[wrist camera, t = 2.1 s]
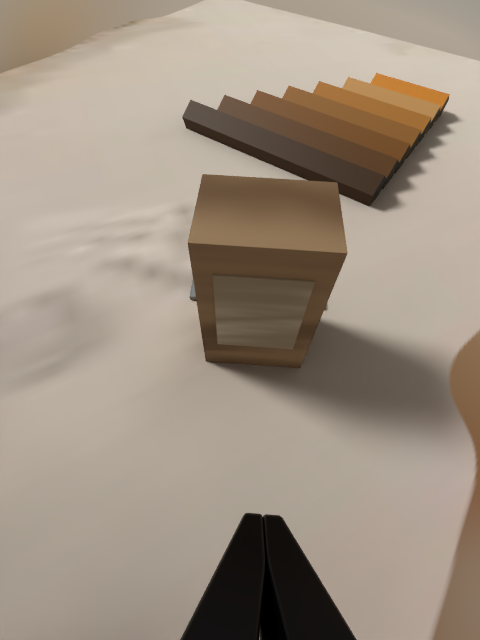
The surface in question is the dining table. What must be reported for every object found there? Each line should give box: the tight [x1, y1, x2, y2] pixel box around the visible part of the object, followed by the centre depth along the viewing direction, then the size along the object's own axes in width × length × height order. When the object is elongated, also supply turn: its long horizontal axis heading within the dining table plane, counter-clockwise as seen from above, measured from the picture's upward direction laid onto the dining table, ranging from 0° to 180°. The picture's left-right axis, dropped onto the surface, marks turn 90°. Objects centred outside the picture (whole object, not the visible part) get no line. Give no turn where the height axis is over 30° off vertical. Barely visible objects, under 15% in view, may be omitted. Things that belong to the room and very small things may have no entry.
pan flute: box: [183, 73, 449, 206], centre depth 43 cm, size 25×3×25 cm
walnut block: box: [188, 174, 347, 368], centre depth 21 cm, size 5×7×12 cm
